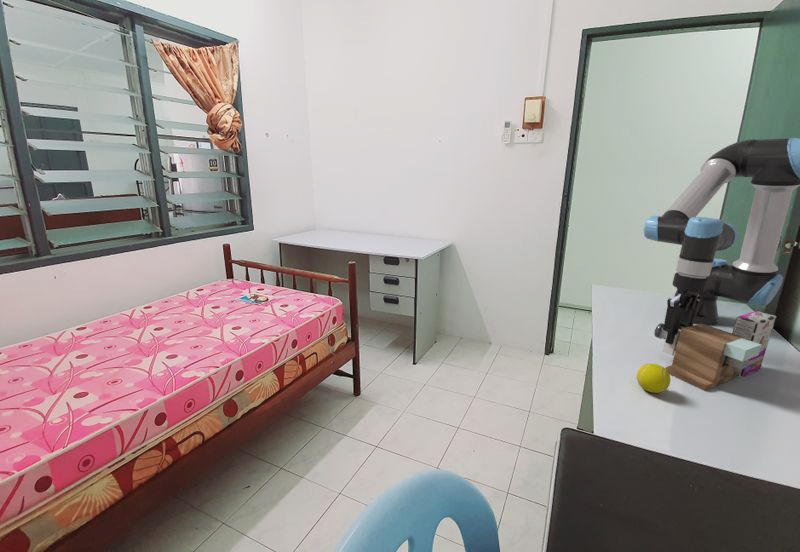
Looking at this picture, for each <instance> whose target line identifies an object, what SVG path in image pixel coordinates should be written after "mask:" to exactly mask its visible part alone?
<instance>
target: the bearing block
mask: <svg viewBox="0 0 800 552" xmlns="http://www.w3.org/2000/svg"><path fill="white" fill-rule="evenodd" d="M732 333H733V332H732ZM732 333H731V332H728V331H726V330H722V329H719V328H717V327H715V326H714V327H713V326H712V325H711V326H710V325H709V324H702V323H701V324H698V323H696V324H693V326H690V327H686V328H682V329H681V332H680V336H679V340H678V343H677V347H676V351H675V352H674V355H673V359H672V363H671V365H667V366H666V367H664V368H665V369H666V370H667V371H668V373H669V375H670V376H672V377H673V378H676V379H679V380H681V381H683V382H685V383H687V384H689V385H691V386H694V387H695V388H698V389H700V390H702V391H708V390H711V389H713V388H715V387H718V386H721V385H723V384H724V383H727V382H729V381H733V380H735V379H737V378H738V376H737V375H738V372H735V371H734V369H735V367H734V366H731V365H729V364H726V363H724V359H725V356H726V355H724V354H723V353H724V350H725V347H726V343H729V342H732V341H735V340H739V339H742V338H743V339H744V337H741V336H738V335H735V334H732Z"/></svg>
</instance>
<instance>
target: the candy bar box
mask: <svg viewBox="0 0 800 552" xmlns="http://www.w3.org/2000/svg"><path fill="white" fill-rule="evenodd" d="M776 318H777V316H776V315H773V314H770V313H767V312H762V311H758V310H754V311H751V312H748V313H745V314H742V315H738V316H736V319H735V322H734V326H733V330H732V334H735V335H738V336H741V337H744V339H746V340H749V341H752V342H755V343H758V344H761V345H762V346H761V349H760V352H759V355H758V356H755V357H753V358H750V359H749V362H748V366H747V367H746V368H743V369H739V368H737V367H735V369H734V371H735V372H738V375H737V377H740V378H743V377H745V376H747V375H750V374H751V373H754V372H756V371H759V370H760V369H761V366H762V364H763V360H764V358H765V354H766V351H767V347H768V344H769V342H770V338H771V335H772V332H773V328H774V327H775V322H776Z"/></svg>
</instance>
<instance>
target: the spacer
mask: <svg viewBox="0 0 800 552" xmlns="http://www.w3.org/2000/svg"><path fill="white" fill-rule="evenodd" d="M761 346H762V345H761V344H758V343H755V342H752V341H749V340H746V339H743V338H742V339H739V340H735V341H732V342H729V343H726V347H725V350H724V353H723V354H724V355H726V356H729V357H732V358H734V359H737V360H740V361H745V360H748V359H750V358H753V357H755V356H758V355H759V352H760V349H761Z"/></svg>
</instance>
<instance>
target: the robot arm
mask: <svg viewBox="0 0 800 552" xmlns="http://www.w3.org/2000/svg"><path fill="white" fill-rule="evenodd" d="M700 167H701V168H700V172H699V174H698V175H697V176H696V177H695V178H694V179H693V180H692V181H691V183H690V184H689V185H688V186H687V187H686V188H685V189H684V191H682V193H681V194H680V195H679V196H678V197H677V198H676V200H675V201H674V202H673V203H672V204H671V205H670V207H669V208H668V209H667V210H666V211H665V212H664V213H663V214H662V215H652V216H649V217H648V218H647V219H646V221H645V223H644V225H643V236H644V238H646V239H647V240H651V241H656V242H659V243H667V244H673V245H679V246H681V247H680V253H679V256H678V259H677V260H676V263H677V264H676V269H675V271H676V272H675V273H674V276H673V278H672V279H673V280H672V286H673V287H675V289H676V292H675V293H674V297H673V298H669V297H668V298H667V300H666V301H667V308H666V312H665V318H664V323H663V324H664V327H663V330H664V331H667V335H666V339H664V340H665V341H664V344H663V348H662V350H661V351H662V353H665V354H667V355H670V356H673V357H674V355H675V351H676V347H677V341H678V337H679V334H677V333H678V330H679V331H681V329H682V328H686V327H690V326H694V325H695V324H701V323H702V324H705V325H716V324H717V323H718V320H719V311H718V310H719V309H718V304H717V301H718V298H719V297H720V298H724V299H728V300H732V301H735V302H740V303H743V304H747V305H752V306H758V307H764V306H767V305H768V304H770V303H771V302H772V300H773V299H774V298H775V296H776V295H777V294H778V292H779V291H780V288H781V286H782V283H783V281H784V276H783V275H782V274H780V273H779V274H778V272H779V267H778V266H777V265H776V264H775V258H776V254H777V251H778V246H779V243H780V240H781V236H782V231H783V229H784V225H785V221H786V217H787V213H788V209H789V205H790V202H791V198H792V195H793V191H794V190H795V189H797V188H798V187H800V138H797V137H789V138H788V137H787V138H764V139H763V138H762V139H752V138H751V139H744V140H740V141H737V142H734V143H732V144H730V145H727V146H726V147H724V148H722V149H720V150H718V151H717V152H715V153H714V154H712V156H710V157H709V158H707V159H706V161H705V162H704V163H703V164H702V166H700ZM742 177H743V178H751V182H750V185H751V186H752V187H753V188H754V189H755V191H754V194H753V200H752V204H751V209H750V212H749V216H748V220H747V223H746V224H747V225H746V229H745V233H744V236H743V237H744V238H743V242H742V245H741V251H740V255H739V258H738V259H737V260H735V261H733V262H732V264H731V265H729V261H728V260H726V259H722V258H716V257H715V256H716V252H717V251H720V252H721V251H725V250H728V249H729V248H731V247H734V246H735V244H736V243H737V242H738V240H739V237H740V234H739V231H738V228H736V227H735V226H734V225H732V224H731V223H726V222H725V223H724V221H723V220H722V219H719V218H714V217H706V216H705V217H704V216H700V217H699V216H698V215H699V214H700V213H701V211H703V209H704V208H705V207H706V206H707V205H708V203H709V202H710V201H711V200H712V199H713V198H714V196H715V195H716V194H717V193H718V192H719V191H720V190H721V188H722V187H723V186H724V185H725V184H727V183H730V182H732V181H733V179H734V178H742Z"/></svg>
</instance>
